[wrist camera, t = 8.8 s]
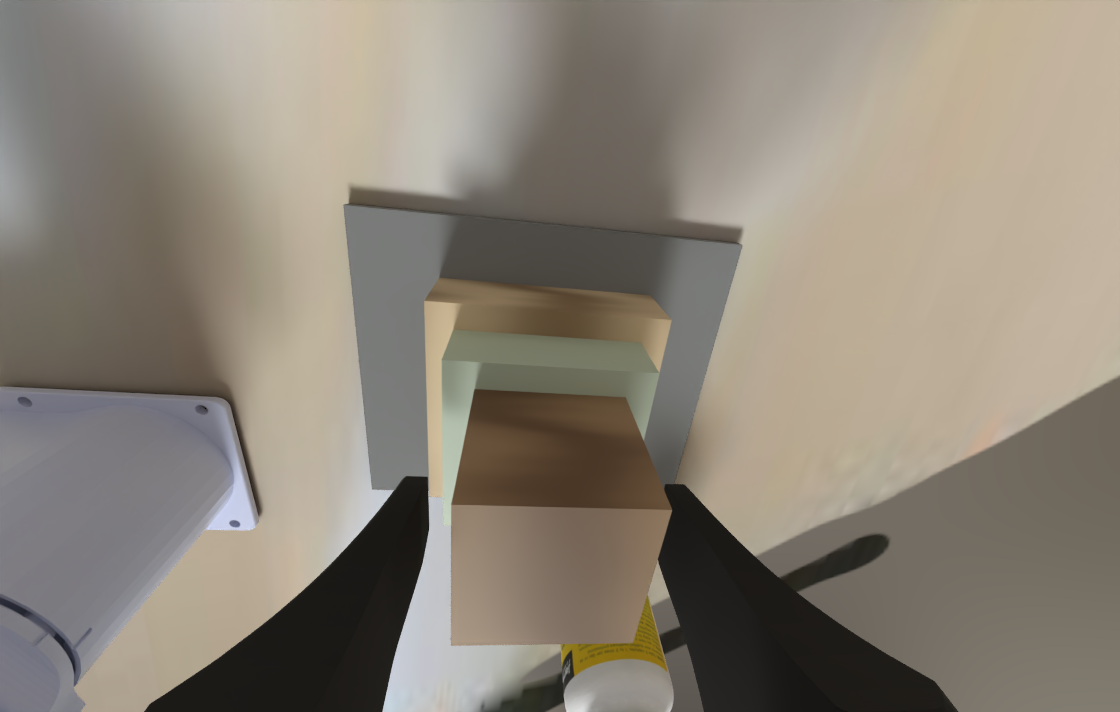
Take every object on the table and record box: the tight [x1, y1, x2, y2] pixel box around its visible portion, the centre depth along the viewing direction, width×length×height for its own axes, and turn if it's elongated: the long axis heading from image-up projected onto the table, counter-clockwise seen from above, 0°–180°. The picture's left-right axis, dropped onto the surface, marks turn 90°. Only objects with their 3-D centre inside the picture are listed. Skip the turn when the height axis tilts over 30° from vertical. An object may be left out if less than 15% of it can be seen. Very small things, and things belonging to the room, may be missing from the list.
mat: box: [344, 204, 742, 491], centre depth 20 cm, size 16×14×1 cm
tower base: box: [424, 278, 672, 497], centre depth 19 cm, size 9×9×3 cm
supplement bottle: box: [561, 594, 674, 712], centre depth 23 cm, size 5×5×10 cm
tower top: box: [442, 329, 660, 526], centre depth 16 cm, size 7×7×2 cm
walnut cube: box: [451, 389, 672, 646], centre depth 13 cm, size 5×5×5 cm
